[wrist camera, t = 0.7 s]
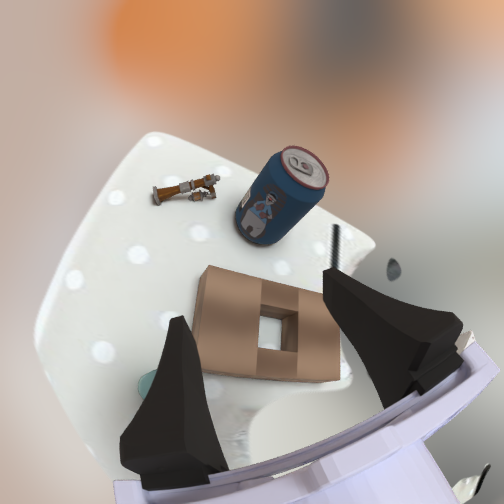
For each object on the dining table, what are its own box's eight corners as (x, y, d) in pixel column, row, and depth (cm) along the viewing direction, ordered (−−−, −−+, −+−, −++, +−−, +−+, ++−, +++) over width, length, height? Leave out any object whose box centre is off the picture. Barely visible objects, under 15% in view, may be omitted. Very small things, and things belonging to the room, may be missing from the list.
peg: (167, 405, 23) (182, 414, 16) (136, 399, 22) (138, 406, 15) (170, 376, 24) (186, 373, 18) (140, 370, 23) (144, 364, 17)
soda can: (281, 214, 40) (331, 159, 30) (278, 256, 36) (336, 203, 26) (236, 196, 38) (278, 132, 28) (227, 237, 34) (274, 173, 24)
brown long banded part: (224, 200, 35) (221, 178, 31) (163, 216, 34) (153, 197, 30) (220, 189, 36) (217, 167, 32) (161, 205, 35) (152, 185, 31)
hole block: (320, 382, 30) (340, 380, 27) (186, 369, 25) (194, 367, 22) (320, 306, 35) (338, 297, 32) (199, 277, 30) (209, 264, 27)
